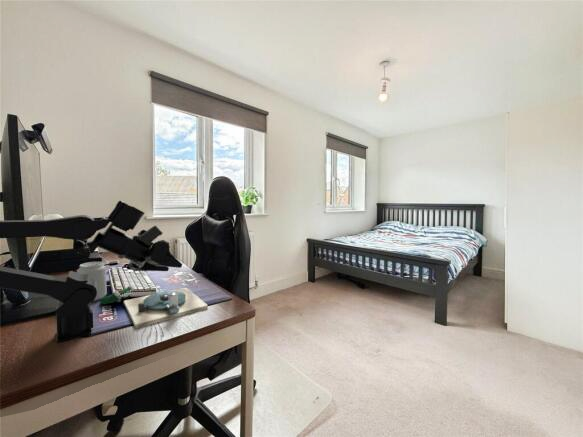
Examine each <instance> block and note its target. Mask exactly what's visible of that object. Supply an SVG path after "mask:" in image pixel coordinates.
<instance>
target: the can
mask: <svg viewBox="0 0 583 437" xmlns="http://www.w3.org/2000/svg"><path fill="white" fill-rule="evenodd" d="M106 268H107V267H106V266H105V265H104V262H103V261H89V262H84V263H81V264H80V265H79V268H78V269H76V273H79V274H89V276H88V277H91V278H93V279H94V280H95V281H96V283H97V295H96V298H95V299H94V300H93V301H92V302H95V301H99V300H100V301H101V300H102V299H103V298H104V297H106V296H107V293H108V292H107V291H108V290H107V269H106Z"/></svg>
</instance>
